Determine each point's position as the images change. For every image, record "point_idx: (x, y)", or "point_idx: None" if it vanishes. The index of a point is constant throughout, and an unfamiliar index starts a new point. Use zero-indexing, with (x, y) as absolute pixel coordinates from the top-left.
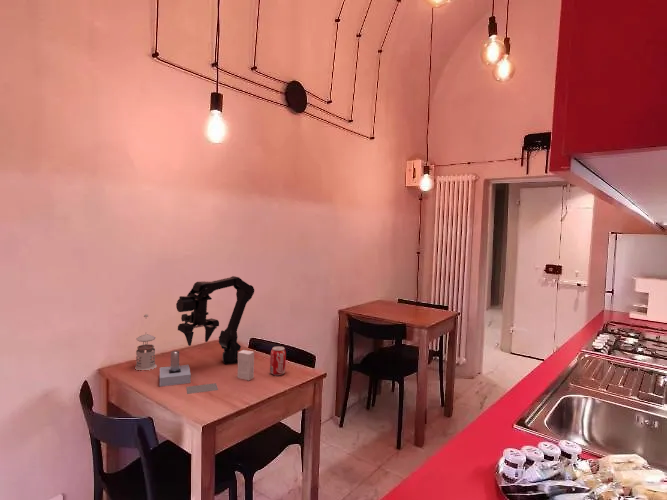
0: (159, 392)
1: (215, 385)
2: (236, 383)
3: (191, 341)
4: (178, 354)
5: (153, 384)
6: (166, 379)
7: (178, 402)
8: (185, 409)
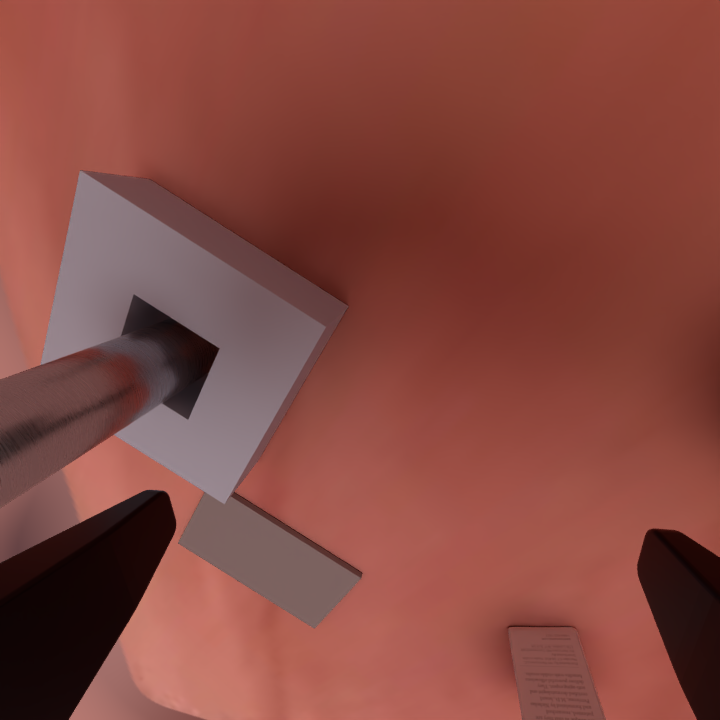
0: None
1: (338, 592)
2: (447, 649)
3: (94, 661)
4: (19, 494)
5: None
6: None
7: None
8: None
